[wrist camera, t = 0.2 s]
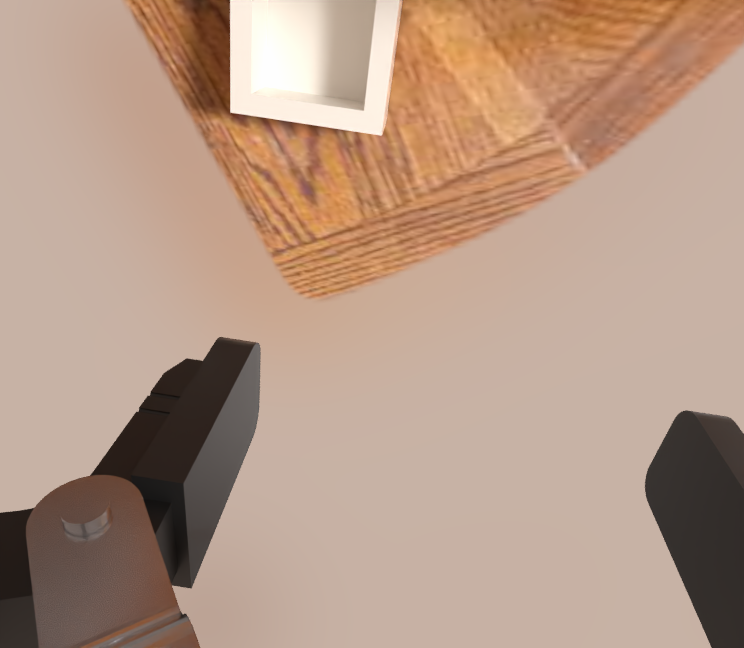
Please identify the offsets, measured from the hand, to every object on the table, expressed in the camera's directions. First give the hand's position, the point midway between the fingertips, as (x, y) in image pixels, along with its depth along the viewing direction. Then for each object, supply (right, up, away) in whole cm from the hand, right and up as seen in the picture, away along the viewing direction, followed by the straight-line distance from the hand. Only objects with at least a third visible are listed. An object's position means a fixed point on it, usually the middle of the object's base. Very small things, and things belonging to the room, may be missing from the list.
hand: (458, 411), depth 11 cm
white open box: (-5, +19, +23) cm, 30 cm away
